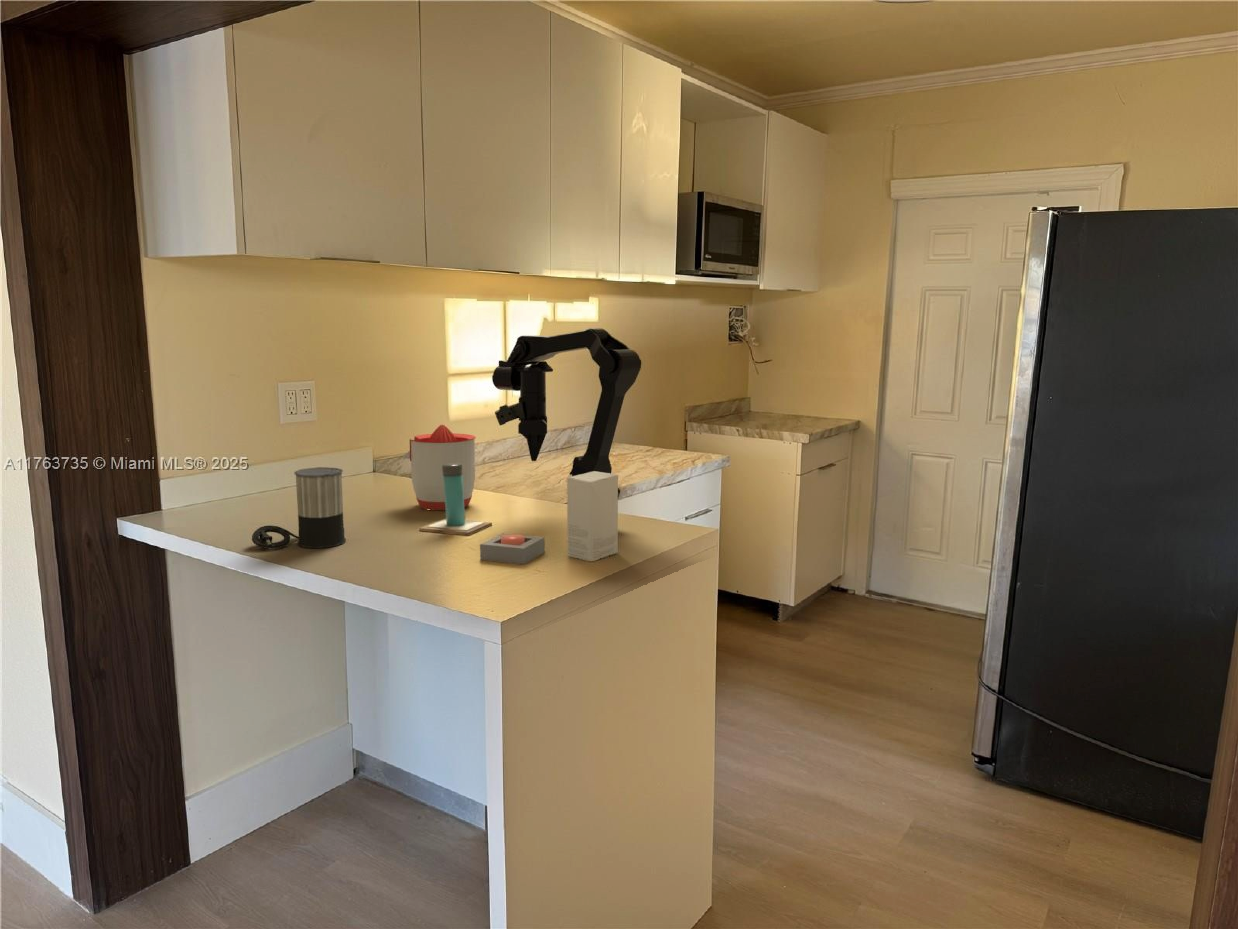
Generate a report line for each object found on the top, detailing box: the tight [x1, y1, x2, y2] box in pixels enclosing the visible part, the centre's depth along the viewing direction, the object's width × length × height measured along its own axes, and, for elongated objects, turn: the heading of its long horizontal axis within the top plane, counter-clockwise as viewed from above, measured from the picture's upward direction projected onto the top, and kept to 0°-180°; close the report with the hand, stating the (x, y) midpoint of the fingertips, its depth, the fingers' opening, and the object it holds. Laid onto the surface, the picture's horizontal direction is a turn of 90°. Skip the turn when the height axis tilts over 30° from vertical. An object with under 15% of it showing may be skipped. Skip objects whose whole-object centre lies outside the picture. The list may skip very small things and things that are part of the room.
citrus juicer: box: [402, 424, 476, 511], centre depth 204 cm, size 16×17×20 cm
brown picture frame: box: [418, 517, 493, 537], centre depth 184 cm, size 12×10×1 cm
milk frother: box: [251, 466, 347, 549], centre depth 169 cm, size 14×16×15 cm
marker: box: [442, 463, 466, 526], centre depth 183 cm, size 4×4×13 cm
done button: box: [501, 534, 525, 546], centre depth 161 cm, size 4×4×3 cm
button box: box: [479, 532, 546, 565], centre depth 162 cm, size 9×9×3 cm
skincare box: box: [566, 471, 619, 562], centre depth 161 cm, size 8×7×16 cm
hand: (533, 460), depth 193 cm, fingers closed
